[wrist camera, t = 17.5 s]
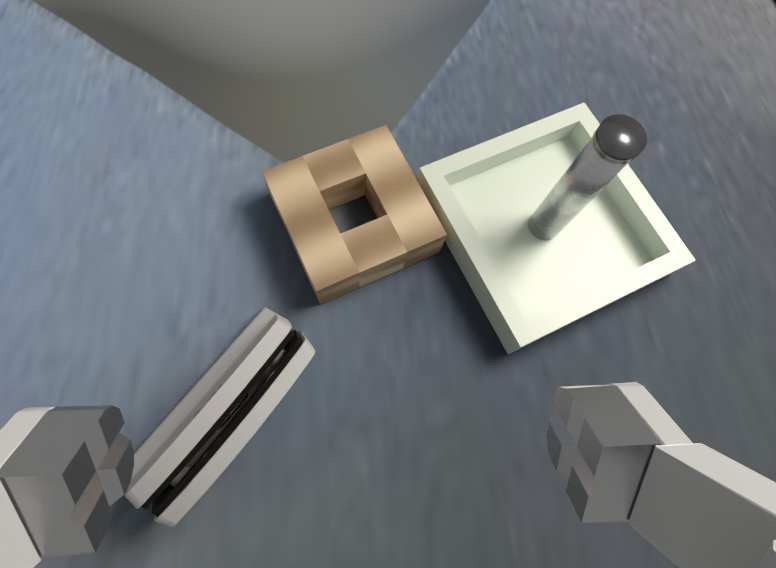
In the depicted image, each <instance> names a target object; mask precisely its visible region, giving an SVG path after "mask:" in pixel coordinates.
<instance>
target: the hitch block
mask: <svg viewBox="0 0 776 568" xmlns="http://www.w3.org/2000/svg"><path fill="white" fill-rule="evenodd" d="M262 174H263V177H264V179H265V182H266V185H267V188H268V190H269V193H270V196H271V198H272V200H273V202H274V204H275V207H276V209H277V211H278V213H279V215H280V218H281V220H282V222H283V224H284V226H285V229H286V231H287V233H288V235H289V237H290V240H291V242H292V244H293V246H294V248H295V251H296V253H297V255H298V257H299V259H300V262H301V264H302V266H303V268H304V270H305V273H306V275H307V277H308V279H309V281H310V284H311V286H312V288H313V290H314V292H315V295H316V297H317V299H318V301H319V303H320V305H321V304H323V303H325V302H328V301H330V300H332V299H334V298H337V297H339V296H341V295H344V294H346V293H348V292H350V291H353V290H355V289H357V288H360V287H362V286H364V285H366V284H369V283H371V282H373V281H376V280H378V279H380V278H382V277H385V276H387V275H389V274H392V273H394V272H396V271H398V270H401V269H403V268H405V267H408V266H410V265H412V264H414V263H417V262H419V261H421V260H424V259H426V258H428V257H430V256H433V255H435V254H437V253H440V251H441V248H442V246H443V244H444V241H445V239H446V236H447V234H446V232H445V230H444V228H443V226H442V225H441V223H440V221H439V219H438V217H437V216H436V214H435V212H434V210H433V208H432V207H431V205H430V203H429V201H428V199H427V198H426V196H425V194H424V192H423V190H422V189H421V187H420V185H419V183H418V181H417V180H416V178H415V176H414V174H413V172H412V171H411V169H410V167H409V165H408V163H407V162H406V160H405V158H404V156H403V155H402V153H401V151H400V149H399V147H398V146H397V144H396V142H395V140H394V138H393V137H392V135H391V133H390V131H389V129H388V128H387V126H386V125H385V126H382V127H379V128H377V129H374V130H371V131H369V132H366V133H363V134H361V135H358V136H355V137H352V138H350V139H347V140H344V141H342V142H339V143H337V144H334V145H331V146H328V147H326V148H323V149H321V150H318V151H315V152H312V153H309V154H307V155H304V156H301V157H299V158H297V159H294V160H291V161H288V162H285V163H283V164H280V165H277V166H275V167H272V168H269V169H267V170H264V171H262ZM362 196H366V198H367V200H368V201H369V203H370V205H371V207H372V209H373V211H374V213H375V215H376V217H377V219H375V220H373V221H370V222H368V223H365V224H363V225H361V226H358V227H356V228H353V229H351V230H348V231H346V232H344V233H341V234H340V232H339V230H338V228H337V226H336V224H335V222H334V220H333V218H332V216H331V214H330V212H329V210H330V209H332V208H335V207H337V206H340V205H342V204H345V203H347V202H350V201H352V200H355V199H357V198H360V197H362Z"/></svg>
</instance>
